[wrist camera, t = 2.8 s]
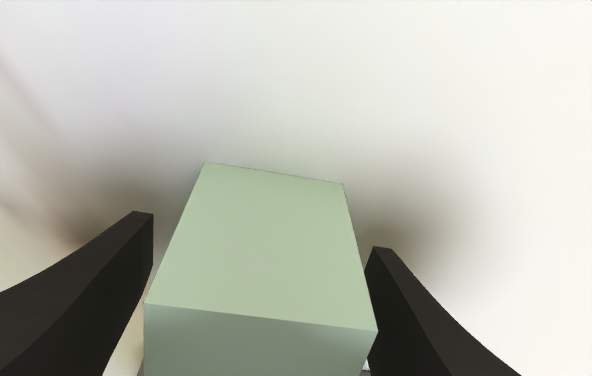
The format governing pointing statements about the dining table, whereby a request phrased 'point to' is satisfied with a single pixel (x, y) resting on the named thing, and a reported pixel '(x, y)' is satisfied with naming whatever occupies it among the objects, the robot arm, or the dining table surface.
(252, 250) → the mint block
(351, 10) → the dining table surface
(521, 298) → the dining table surface
